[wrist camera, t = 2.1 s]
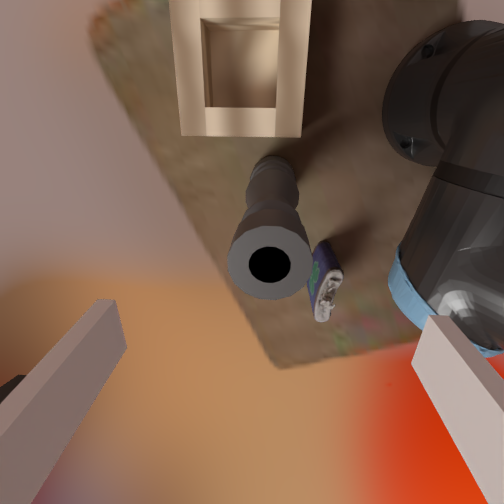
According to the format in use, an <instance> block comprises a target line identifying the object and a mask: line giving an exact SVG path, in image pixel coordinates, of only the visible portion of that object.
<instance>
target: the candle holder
mask: <svg viewBox="0 0 504 504" xmlns="http://www.w3.org/2000/svg"><path fill="white" fill-rule="evenodd" d="M298 200H299V191H298V188H297V185H296V179H295V175H294V172H293V169H292V166H291V165H290V164H289V163H288V161H287V160H286V159H283V158H281V157H279V156H268V157H265V158H263V159H261V160H260V161H259V162H258V163H257V164H256V165H255V167H254V169H253V171H252V174H251V177H250V183H249V185H248V187H247V190H246V203H247V206H248V208H249V209H247V210H246V212H245V214H244V216H243V219H242V221H241V223H240V224H239V225H238V228H237V230H236V232H235V234H234V237H233V240H232V243H231V246H230V250H229V253H228V272H229V274H230V276H231V278H232V280H233V282H234V284H236V285H237V286H238V287H239V288H240V289H241V290H242V291H244V292H245V293H246V294H249V295H251V296H254V297H256V298H259V299H268V300H277V299H281V298H285V297H288V296H291V295H293V294H294V293H296V292H297V291H299V290H300V289H301V288H303V287H304V285H305V284H306V282H307V281H308V279H309V277H310V276H311V273H312V266H313V257H312V253H311V249H310V245H309V241H308V237H307V234H306V231H305V228H304V226H303V225H302V224H301V221H300V218H299V215H298V212H297V211H296V210H295V209H296V207H297V205H298Z"/></svg>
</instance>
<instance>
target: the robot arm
mask: <svg viewBox="0 0 504 504" xmlns="http://www.w3.org/2000/svg"><path fill="white" fill-rule="evenodd" d="M382 121H383V127H384V131H385V134H386V137H387V139H388V141H389V143H390V144H391V146H392V147H393V148H394V150H395V151H396V152H397V153H399V154H400V155H401V156H403V157H404V158H406V159H408V160H410V161H413V162H415V163H418V164H422V165H426V166H437V168H436V170H435V172H434V174H433V175H432V178H431V180H430V182H429V184H428V186H427V189H426V191H425V193H424V195H423V197H422V200H421V202H420V204H419V206H418V208H417V211H416V213H415V215H414V217H413V219H412V221H411V223H410V225H409V228H408V230H407V232H406V234H405V236H404V238H403V240H402V241H401V242H400V244H399V245H398V247H397V249H396V257H395V260H394V262H393V265H392V267H391V270H390V272H389V276H388V286H389V288H390V291H391V293H392V297H393V299H394V301H395V302H396V304H397V305H398V307H399V308H400V310H401V311H402V312H403V313H404V314H405V315H406V316H407V317H408V318H409V319H410V320H411V321H412V322H413V323H414V324H415V325H416V326H417V327H419V328H420V329H421V330H422V331H423V332H422V335H421V338H420V340H419V343H418V346H417V349H416V351H415V354H414V357H413V360H412V363H411V364H412V366H413V368H414V370H415V372H416V373H417V375H418V377H419V379H420V381H421V382H422V384H423V386H424V388H425V390H426V391H427V393H428V395H429V397H430V398H431V400H432V402H433V404H434V406H435V408H436V410H437V411H438V413H439V415H440V417H441V419H442V420H443V422H444V424H445V426H446V428H447V430H448V431H449V433H450V435H451V436H452V438H453V440H454V442H455V444H456V446H457V448H458V449H459V451H460V453H461V455H462V457H463V458H464V460H465V462H466V464H467V466H468V468H469V469H470V471H471V473H472V475H473V477H474V478H475V480H476V482H477V484H478V486H479V487H480V489H481V491H482V493H483V495H484V497H485V498H486V500H487V502H488V504H504V380H503V379H502V378H501V376H500V375H499V374H498V373H497V372H496V371H495V370H494V368H493V367H492V366H491V365H490V364H489V362H488V361H487V360H486V359H485V357H486V358H487V357H492V356H495V355H498V354H502V353H504V24H502V23H497V22H492V21H486V20H474V21H466V22H462V23H458V24H455V25H452V26H449V27H447V28H445V29H443V30H441V31H439V32H437V33H435V34H433V35H431V36H429V37H428V38H426V39H425V40H423V41H422V42H420V43H419V44H418V45H417V46H416V47H414V48H413V49H412V50H411V51H410V52H409V53H408V54H407V55H406V57H405V58H404V59H403V60H402V62H401V63H400V64H399V66H398V67H397V69H396V70H395V72H394V74H393V75H392V77H391V79H390V82H389V84H388V87H387V89H386V92H385V96H384V100H383V107H382ZM126 349H127V345H126V341H125V337H124V333H123V329H122V325H121V321H120V317H119V313H118V309H117V305H116V301H115V300H107V299H105V300H104V299H98V300H97V301H96V302H95V303H94V304H93V305H92V306H91V307H90V308H89V309H88V310H87V312H86V313H85V314H84V315H83V316H82V317H81V318H80V319H79V320H78V321H77V322H76V323H75V324H74V325H73V327H72V328H71V329H70V330H69V331H68V332H67V333H66V334H65V335H64V336H63V337H62V338H61V340H60V341H59V342H58V343H57V344H56V345H55V346H54V347H53V348H52V349H51V350H50V351H49V352H48V353H47V354H46V355H45V357H44V358H43V359H42V360H41V361H40V362H39V363H38V364H37V365H36V366H35V368H34V369H33V370H32V371H31V372H30V373H29V374H28V375H17V376H16V377H14V378H13V379H12V380H10V381H9V382H7V383H6V384H4V385H3V386H1V387H0V504H31V503H32V501H33V499H34V498H35V496H36V494H37V493H38V491H39V489H40V488H41V486H42V485H43V483H44V481H45V480H46V478H47V476H48V475H49V473H50V472H51V470H52V468H53V467H54V465H55V464H56V462H57V460H58V459H59V457H60V456H61V454H62V452H63V451H64V449H65V447H66V446H67V444H68V443H69V441H70V439H71V438H72V436H73V434H74V433H75V431H76V430H77V428H78V426H79V425H80V423H81V421H82V420H83V418H84V417H85V415H86V413H87V412H88V410H89V408H90V407H91V405H92V404H93V402H94V400H95V399H96V397H97V395H98V394H99V392H100V391H101V389H102V387H103V386H104V384H105V383H106V381H107V379H108V378H109V376H110V375H111V373H112V371H113V370H114V368H115V366H116V365H117V363H118V362H119V360H120V358H121V357H122V355H123V353H124V352H125V350H126Z"/></svg>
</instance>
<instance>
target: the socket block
mask: <svg viewBox="0 0 504 504" xmlns="http://www.w3.org/2000/svg"><path fill="white" fill-rule="evenodd" d="M311 4H312V0H169V7H170V18H171V29H172V40H173V50H174V61H175V72H176V82H177V93H178V104H179V115H180V125H181V136H239V137H301V129H302V116H303V104H304V91H305V79H306V66H307V54H308V41H309V29H310V16H311Z"/></svg>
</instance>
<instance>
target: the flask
mask: <svg viewBox="0 0 504 504" xmlns="http://www.w3.org/2000/svg"><path fill="white" fill-rule="evenodd" d="M312 257H313V266H312V273H311V276H310V277H309V279H308V281H307V287H308V291H309V295H310V301H311V305H312V310H313V316H314V319H315V320H316V321H319V322H325V321H328V320H329V318H330V316H331V309H333V308H334V307H335V304H334V305H332V303H333V299H334V296H335V293H336V291H337V289H338V287H339V286H340V284H341V283H342V281H343V278H344V274H343V270H342V269H341V267H340V265H339V263H338V261H337V259H336V256H335V254H334V252H333V250H332V248H331V245H330V244H329V242H325V241H321V242H319V243H318V244H317V246H316V247H315V248H314V251H313V253H312Z"/></svg>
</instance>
